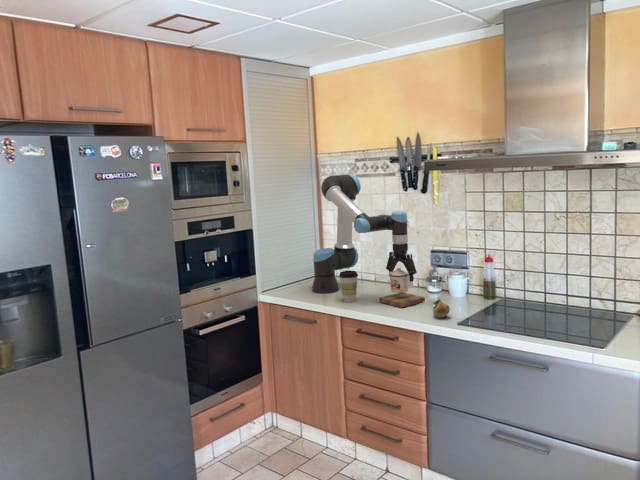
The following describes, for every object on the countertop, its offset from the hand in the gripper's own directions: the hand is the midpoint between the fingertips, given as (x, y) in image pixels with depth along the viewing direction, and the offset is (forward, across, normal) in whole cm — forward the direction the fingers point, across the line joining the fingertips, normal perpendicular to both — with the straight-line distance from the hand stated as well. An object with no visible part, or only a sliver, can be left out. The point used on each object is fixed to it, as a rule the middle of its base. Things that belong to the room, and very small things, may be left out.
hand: (401, 285), depth 263 cm
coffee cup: (+9, -22, -16) cm, 29 cm away
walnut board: (+9, 0, 0) cm, 9 cm away
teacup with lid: (+3, 0, 0) cm, 3 cm away
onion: (+9, +31, -6) cm, 33 cm away
